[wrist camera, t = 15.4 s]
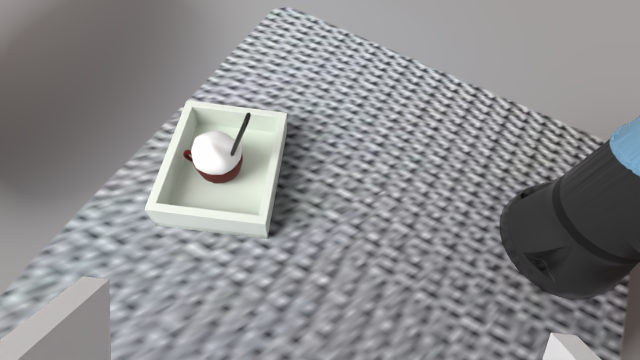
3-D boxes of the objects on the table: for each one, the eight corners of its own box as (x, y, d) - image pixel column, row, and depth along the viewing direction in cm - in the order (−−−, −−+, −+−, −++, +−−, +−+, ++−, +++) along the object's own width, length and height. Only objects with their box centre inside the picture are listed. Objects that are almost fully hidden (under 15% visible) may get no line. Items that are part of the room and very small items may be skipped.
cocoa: (183, 173, 49) (148, 114, 39) (213, 141, 52) (188, 78, 41) (240, 205, 47) (219, 152, 36) (268, 170, 49) (256, 111, 39)
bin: (286, 133, 54) (286, 113, 51) (267, 238, 46) (265, 224, 42) (194, 121, 54) (186, 100, 50) (156, 225, 46) (144, 209, 42)
